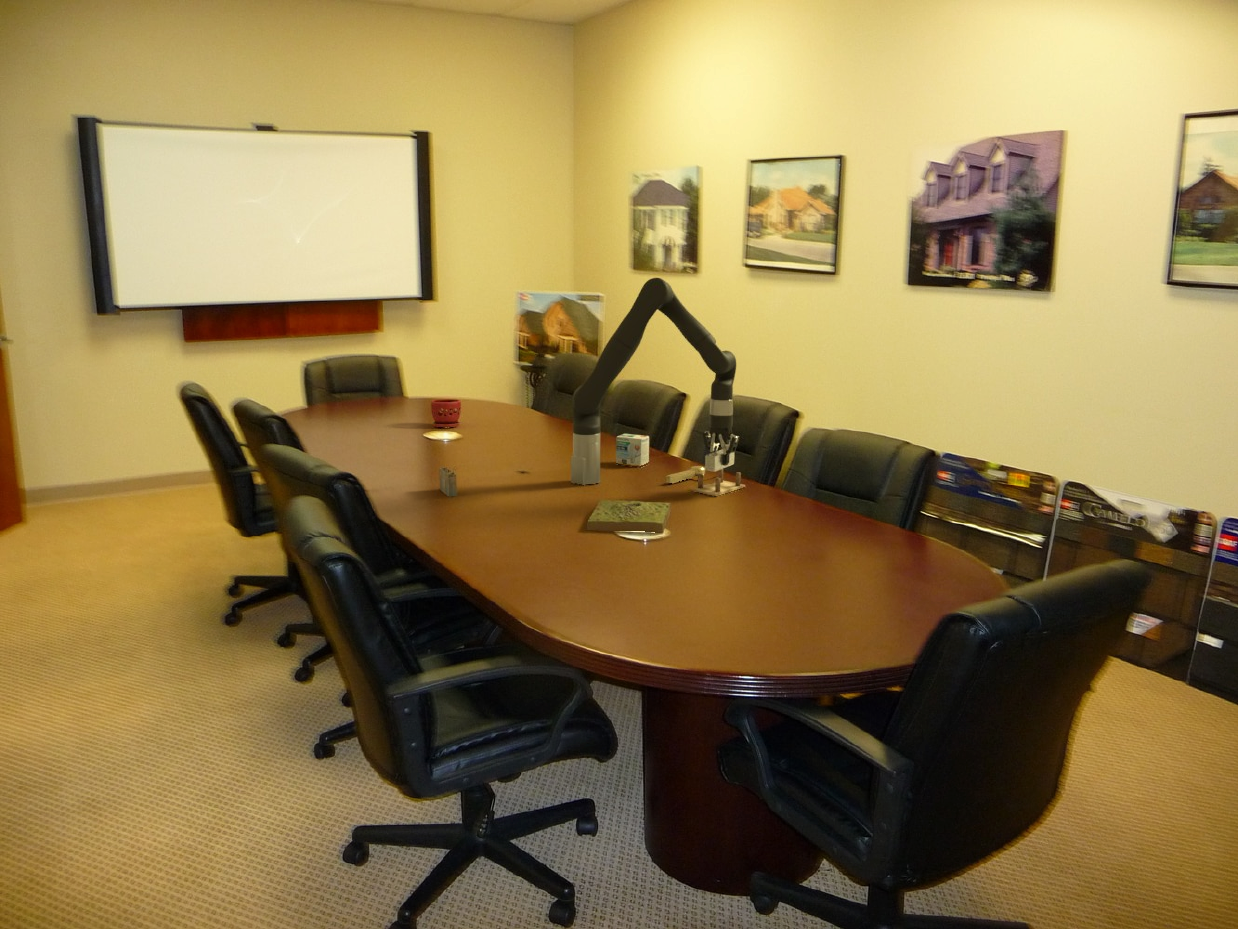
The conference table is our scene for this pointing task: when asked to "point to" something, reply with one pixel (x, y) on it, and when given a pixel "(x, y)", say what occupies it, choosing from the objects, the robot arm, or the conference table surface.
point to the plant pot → (446, 412)
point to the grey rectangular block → (717, 461)
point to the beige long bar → (685, 474)
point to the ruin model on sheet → (448, 481)
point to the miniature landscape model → (629, 516)
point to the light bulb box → (632, 449)
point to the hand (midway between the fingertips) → (719, 463)
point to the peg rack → (718, 485)
